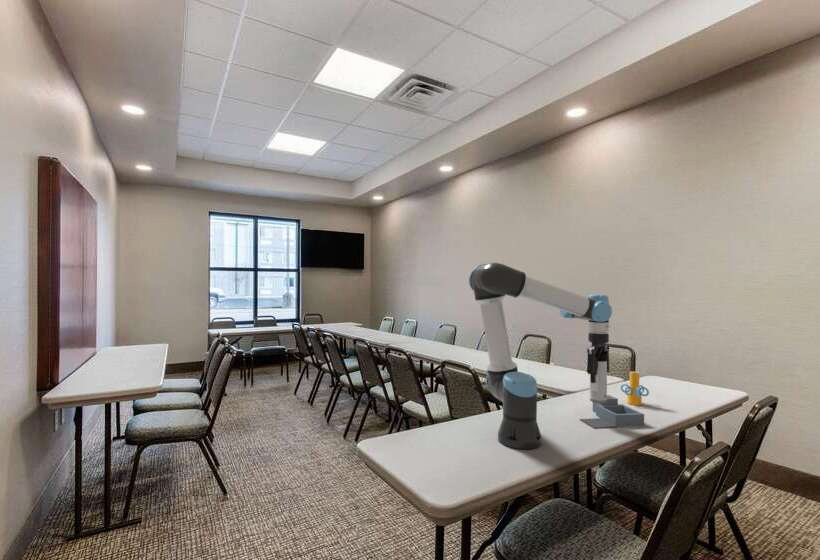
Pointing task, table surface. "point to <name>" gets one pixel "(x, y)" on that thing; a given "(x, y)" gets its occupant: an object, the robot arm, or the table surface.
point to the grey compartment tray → (618, 413)
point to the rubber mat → (598, 423)
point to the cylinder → (634, 390)
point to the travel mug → (601, 381)
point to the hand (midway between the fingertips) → (598, 389)
